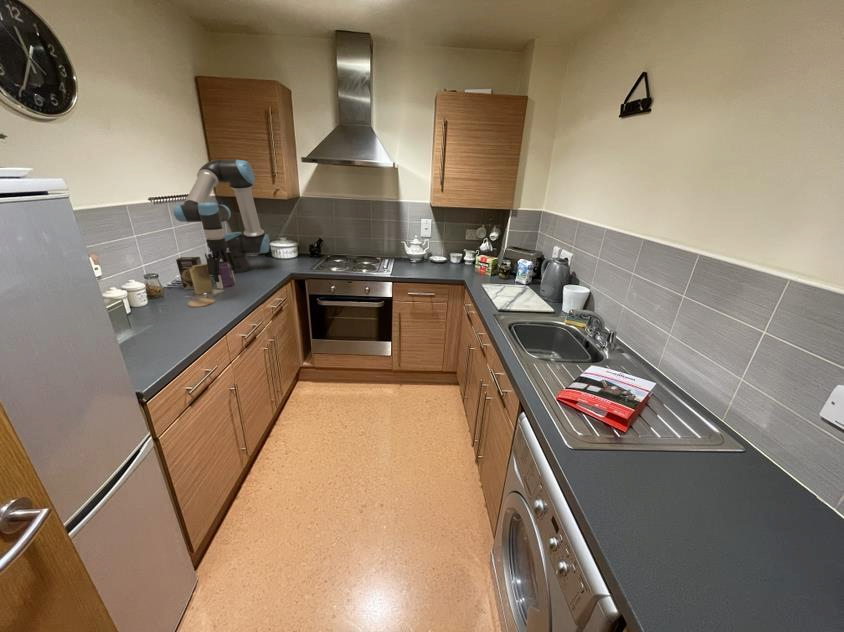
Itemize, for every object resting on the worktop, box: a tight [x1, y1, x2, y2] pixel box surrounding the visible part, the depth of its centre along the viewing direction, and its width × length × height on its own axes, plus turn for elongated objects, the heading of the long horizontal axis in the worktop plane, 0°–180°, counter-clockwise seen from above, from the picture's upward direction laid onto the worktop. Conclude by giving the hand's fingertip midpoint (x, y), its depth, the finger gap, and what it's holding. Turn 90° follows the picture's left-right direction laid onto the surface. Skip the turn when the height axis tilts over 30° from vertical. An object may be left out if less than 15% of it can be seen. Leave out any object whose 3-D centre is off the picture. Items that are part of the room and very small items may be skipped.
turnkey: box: [189, 260, 221, 294], centre depth 163 cm, size 3×20×14 cm, turn 143°
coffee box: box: [175, 256, 202, 291], centre depth 168 cm, size 9×6×16 cm
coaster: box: [187, 297, 216, 308], centre depth 151 cm, size 11×11×1 cm
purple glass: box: [215, 260, 236, 289], centre depth 154 cm, size 7×7×12 cm
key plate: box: [184, 288, 225, 300], centre depth 161 cm, size 12×12×1 cm
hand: (226, 285), depth 157 cm, fingers closed on purple glass, 7 cm apart
